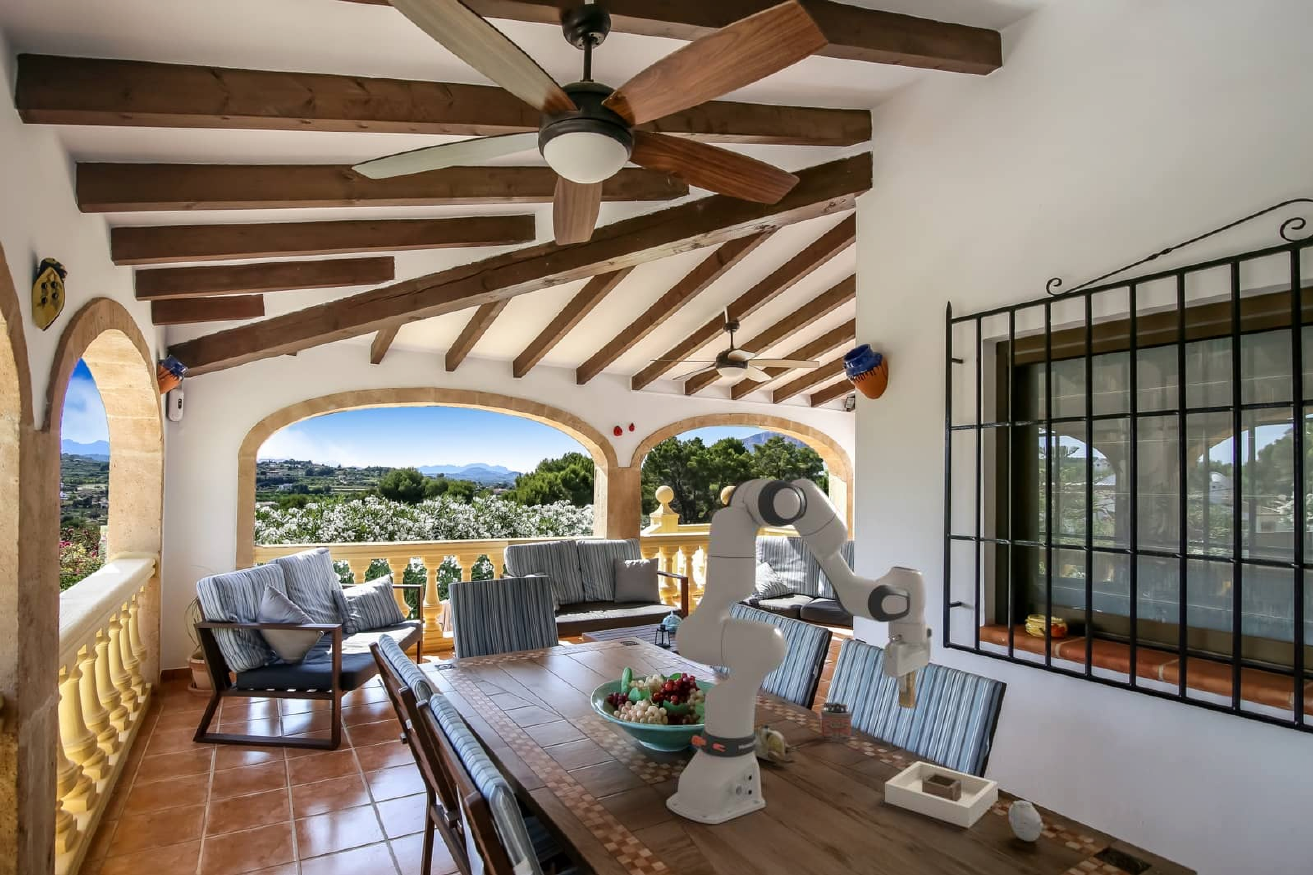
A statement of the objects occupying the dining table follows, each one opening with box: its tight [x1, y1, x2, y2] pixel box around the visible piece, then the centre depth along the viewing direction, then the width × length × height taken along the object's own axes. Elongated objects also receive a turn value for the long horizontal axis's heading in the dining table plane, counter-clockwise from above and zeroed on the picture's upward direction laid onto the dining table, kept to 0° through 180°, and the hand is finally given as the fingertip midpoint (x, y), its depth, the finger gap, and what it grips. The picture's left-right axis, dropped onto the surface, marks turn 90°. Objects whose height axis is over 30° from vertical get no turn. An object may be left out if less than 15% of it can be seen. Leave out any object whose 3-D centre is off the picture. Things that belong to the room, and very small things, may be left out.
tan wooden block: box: [898, 670, 917, 710], centre depth 185 cm, size 3×3×10 cm
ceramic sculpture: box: [754, 724, 801, 765], centre depth 189 cm, size 11×9×15 cm
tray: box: [884, 760, 999, 829], centre depth 165 cm, size 18×18×4 cm
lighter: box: [820, 701, 852, 743], centre depth 203 cm, size 8×3×10 cm, turn 84°
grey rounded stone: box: [1008, 800, 1044, 842], centre depth 148 cm, size 6×7×7 cm
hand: (907, 689), depth 185 cm, fingers closed on tan wooden block, 3 cm apart
